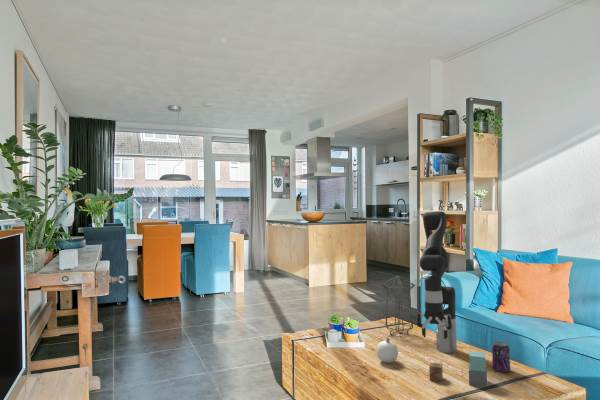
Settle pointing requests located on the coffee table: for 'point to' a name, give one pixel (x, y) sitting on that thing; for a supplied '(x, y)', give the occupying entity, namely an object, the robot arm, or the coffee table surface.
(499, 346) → the beverage can
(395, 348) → the ornament
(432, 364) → the walnut block
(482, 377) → the tower base
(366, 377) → the coffee table surface
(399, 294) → the geometric lantern
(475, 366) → the tower mid
